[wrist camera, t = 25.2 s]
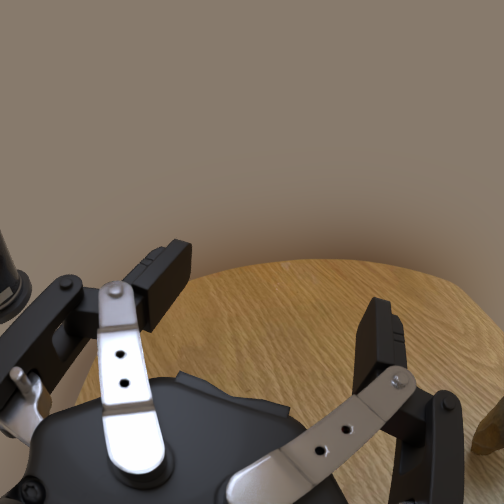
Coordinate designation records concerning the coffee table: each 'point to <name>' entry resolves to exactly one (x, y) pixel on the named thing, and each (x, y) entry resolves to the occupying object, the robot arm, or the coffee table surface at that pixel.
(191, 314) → the coffee table surface
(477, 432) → the decorative stone
